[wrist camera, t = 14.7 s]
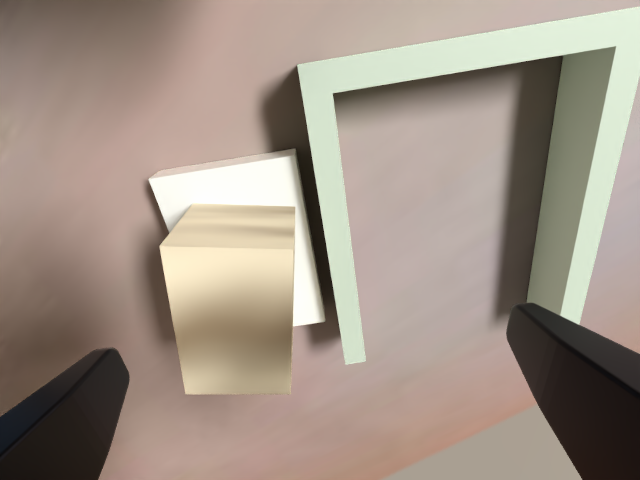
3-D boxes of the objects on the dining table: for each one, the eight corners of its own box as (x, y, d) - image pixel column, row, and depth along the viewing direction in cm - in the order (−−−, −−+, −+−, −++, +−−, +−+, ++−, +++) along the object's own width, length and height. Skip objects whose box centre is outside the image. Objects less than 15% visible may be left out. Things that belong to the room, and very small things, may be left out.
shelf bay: (298, 64, 16) (297, 64, 13) (596, 13, 15) (657, 3, 13) (340, 329, 23) (345, 364, 20) (545, 299, 23) (577, 331, 20)
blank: (193, 203, 17) (159, 246, 13) (295, 206, 17) (293, 249, 13) (208, 330, 21) (185, 394, 17) (293, 330, 21) (290, 394, 17)
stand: (160, 170, 18) (148, 178, 16) (295, 148, 18) (294, 155, 16) (215, 322, 22) (210, 338, 21) (324, 305, 22) (325, 321, 21)
